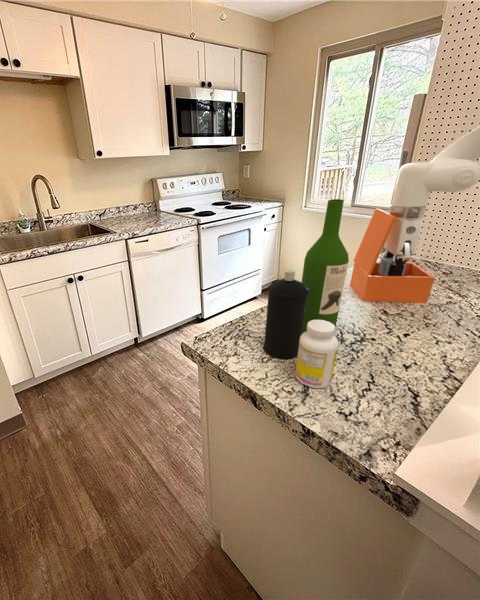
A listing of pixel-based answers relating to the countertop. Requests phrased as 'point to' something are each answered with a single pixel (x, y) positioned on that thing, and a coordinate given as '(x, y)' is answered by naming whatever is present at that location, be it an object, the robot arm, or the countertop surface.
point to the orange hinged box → (393, 285)
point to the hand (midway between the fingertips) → (390, 273)
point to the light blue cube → (386, 266)
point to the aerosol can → (285, 316)
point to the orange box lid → (374, 240)
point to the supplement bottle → (317, 354)
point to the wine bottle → (325, 270)
